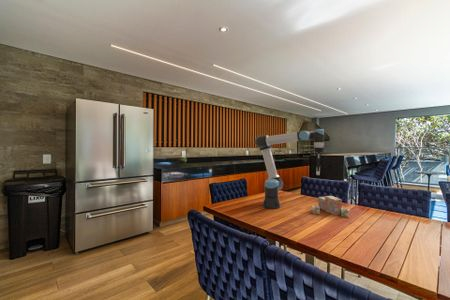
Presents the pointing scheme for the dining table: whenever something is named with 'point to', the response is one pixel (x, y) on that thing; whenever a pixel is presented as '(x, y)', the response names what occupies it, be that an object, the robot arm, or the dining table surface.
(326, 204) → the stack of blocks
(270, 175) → the robot arm
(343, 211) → the marked cube right
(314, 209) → the marked cube left
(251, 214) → the dining table surface
